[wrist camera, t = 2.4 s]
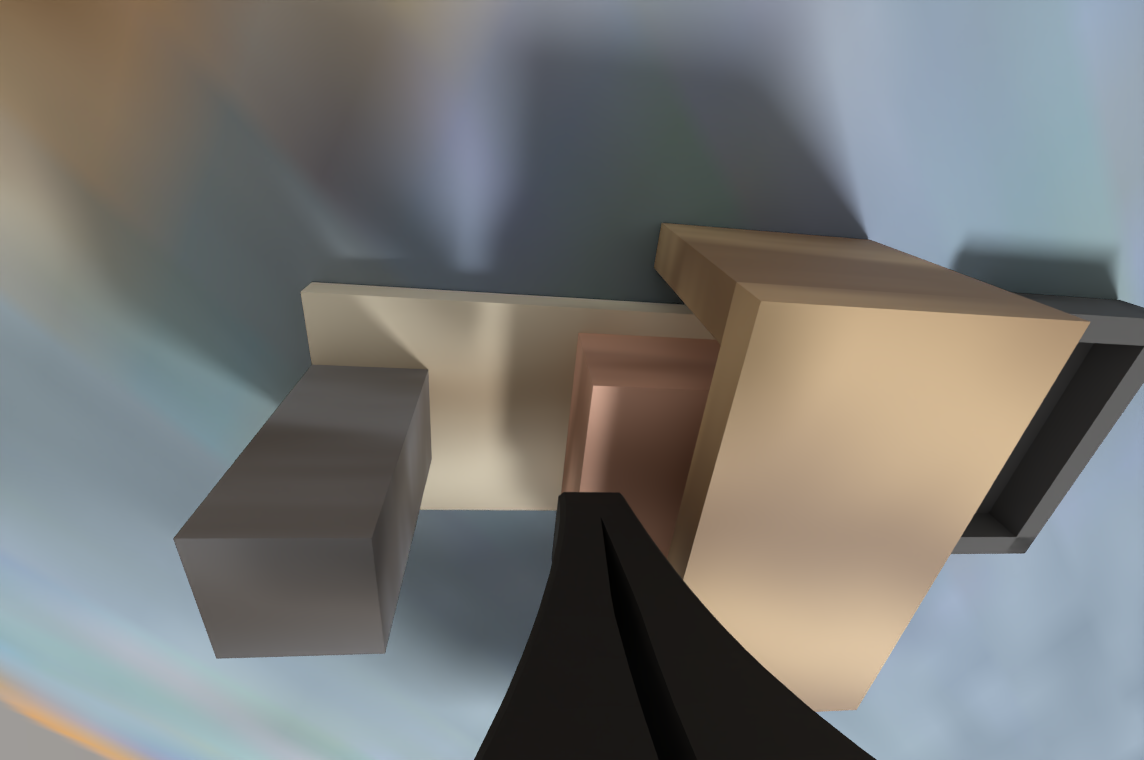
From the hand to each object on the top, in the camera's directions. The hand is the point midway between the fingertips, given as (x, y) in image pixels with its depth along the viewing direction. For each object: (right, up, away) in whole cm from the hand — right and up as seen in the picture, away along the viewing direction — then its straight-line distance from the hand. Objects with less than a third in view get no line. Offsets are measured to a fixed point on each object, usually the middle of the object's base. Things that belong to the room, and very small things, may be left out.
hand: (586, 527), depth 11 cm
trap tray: (+14, +2, +6) cm, 15 cm away
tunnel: (+4, +2, +5) cm, 7 cm away
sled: (+1, +2, +5) cm, 5 cm away
